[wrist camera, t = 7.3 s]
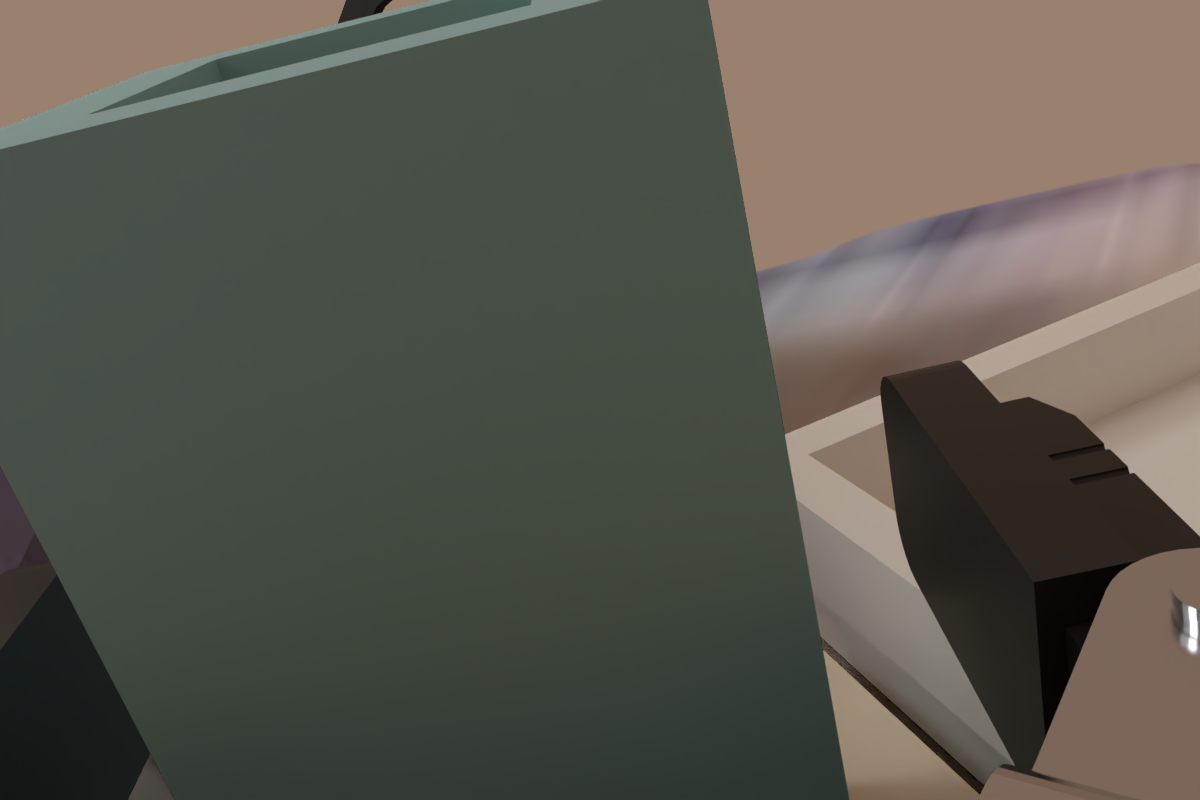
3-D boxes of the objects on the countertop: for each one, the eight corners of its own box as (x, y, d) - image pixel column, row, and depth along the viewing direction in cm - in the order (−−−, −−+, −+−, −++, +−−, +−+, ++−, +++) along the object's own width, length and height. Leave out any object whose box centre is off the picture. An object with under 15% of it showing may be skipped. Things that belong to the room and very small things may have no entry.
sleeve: (915, 1167, 10) (703, -25, 6) (413, 1260, 11) (-146, 184, 6) (804, 787, 15) (638, -52, 11) (455, 857, 15) (148, 71, 11)
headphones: (728, 411, 30) (551, -484, 21) (301, 913, 17) (-512, -767, 9) (460, 399, 35) (234, -327, 26) (-21, 779, 22) (-727, -369, 14)
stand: (347, 2003, 8) (-580, 1178, 4) (238, 953, 17) (-75, 365, 12) (1350, 1241, 10) (1450, 264, 6) (796, 681, 19) (689, 121, 15)
